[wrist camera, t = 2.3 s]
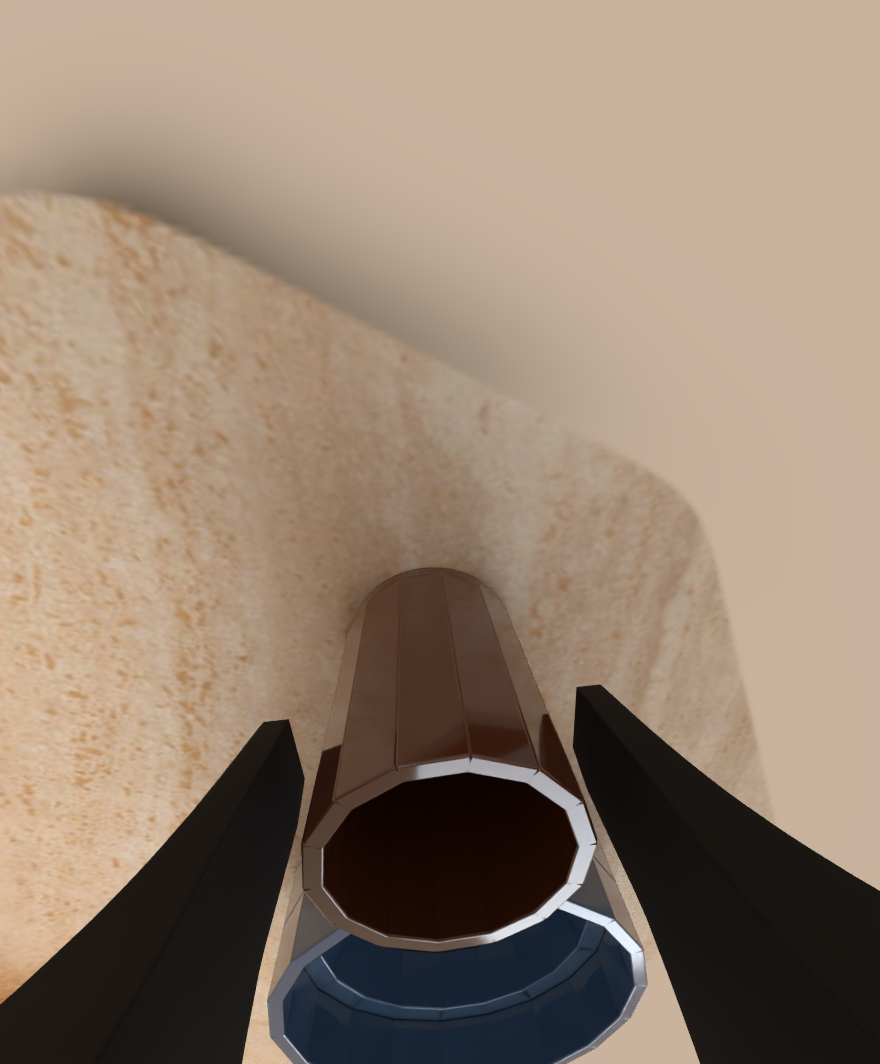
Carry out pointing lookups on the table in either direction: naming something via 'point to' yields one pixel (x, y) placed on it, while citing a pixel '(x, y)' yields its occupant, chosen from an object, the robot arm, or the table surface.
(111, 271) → the table surface
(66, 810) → the table surface
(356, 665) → the cup
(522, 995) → the bowl
